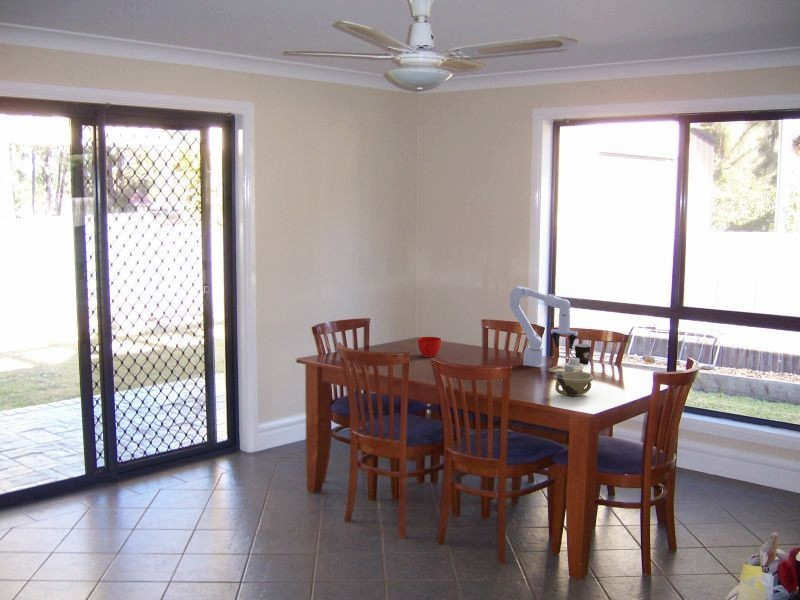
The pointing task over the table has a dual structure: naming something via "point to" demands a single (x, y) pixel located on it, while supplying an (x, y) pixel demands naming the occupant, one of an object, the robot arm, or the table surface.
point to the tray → (561, 369)
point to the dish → (578, 366)
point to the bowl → (573, 383)
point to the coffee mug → (582, 352)
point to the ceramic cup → (429, 345)
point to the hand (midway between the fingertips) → (564, 347)
